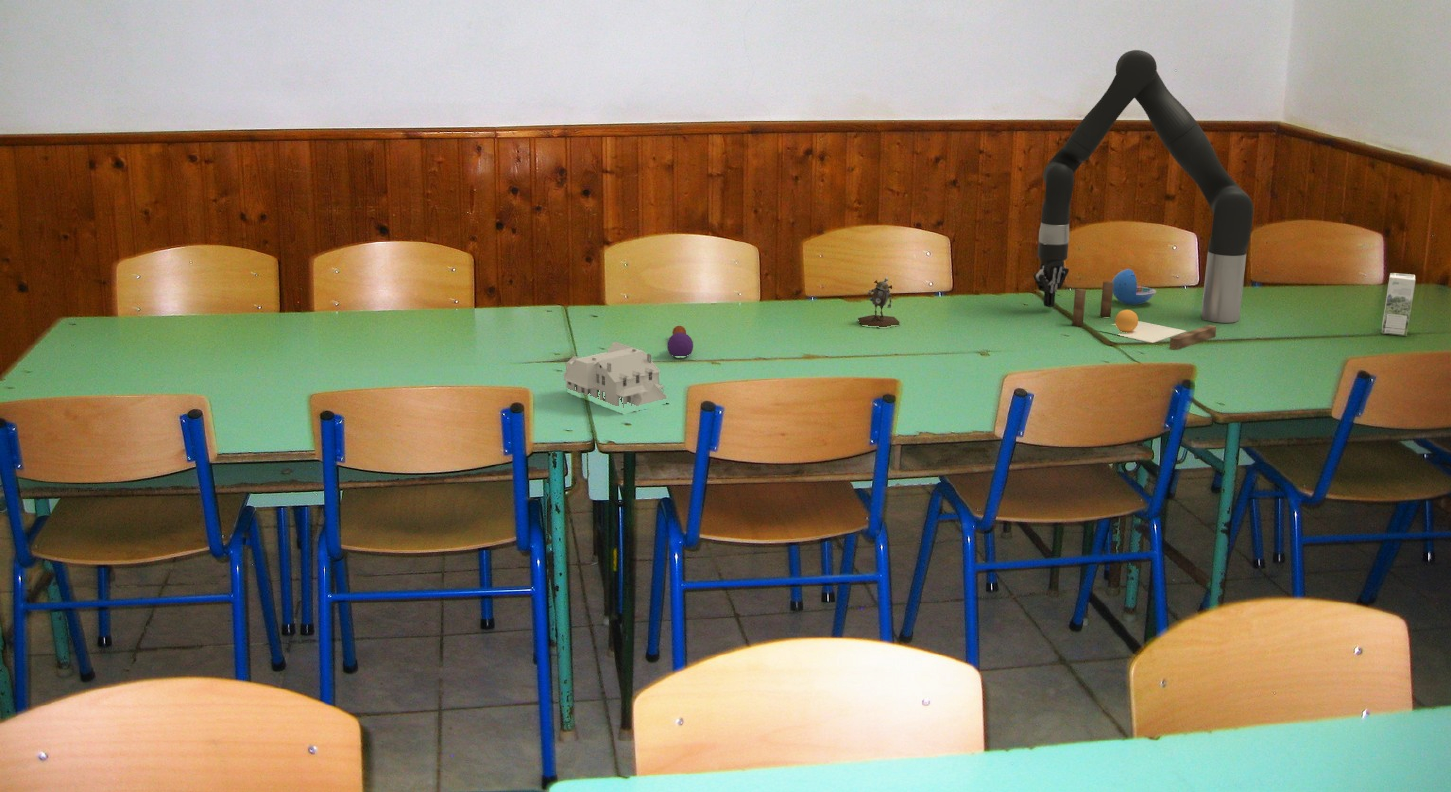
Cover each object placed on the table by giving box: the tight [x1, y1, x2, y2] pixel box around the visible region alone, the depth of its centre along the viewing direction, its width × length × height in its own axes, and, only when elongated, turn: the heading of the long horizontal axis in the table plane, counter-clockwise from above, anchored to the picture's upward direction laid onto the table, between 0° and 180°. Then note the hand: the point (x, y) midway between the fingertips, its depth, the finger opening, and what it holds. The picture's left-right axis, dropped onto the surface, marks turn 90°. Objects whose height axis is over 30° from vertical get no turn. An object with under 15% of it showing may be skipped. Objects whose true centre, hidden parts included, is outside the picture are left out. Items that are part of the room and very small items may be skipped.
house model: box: [563, 341, 668, 408], centre depth 288 cm, size 19×20×10 cm
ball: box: [1114, 309, 1139, 332], centre depth 341 cm, size 6×6×6 cm
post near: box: [1072, 288, 1087, 327], centre depth 347 cm, size 3×3×9 cm
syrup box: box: [1381, 272, 1416, 337], centre depth 340 cm, size 6×6×14 cm
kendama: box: [666, 325, 694, 357], centre depth 325 cm, size 6×6×20 cm
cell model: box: [1111, 268, 1157, 306], centre depth 369 cm, size 10×12×10 cm
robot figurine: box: [857, 276, 900, 327], centre depth 347 cm, size 11×9×12 cm
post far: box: [1099, 281, 1114, 318], centre depth 355 cm, size 3×3×9 cm
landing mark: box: [1111, 320, 1188, 344], centre depth 342 cm, size 16×16×1 cm
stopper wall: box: [1169, 324, 1217, 350], centre depth 332 cm, size 18×2×2 cm, turn 133°
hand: (1048, 306), depth 361 cm, fingers closed
